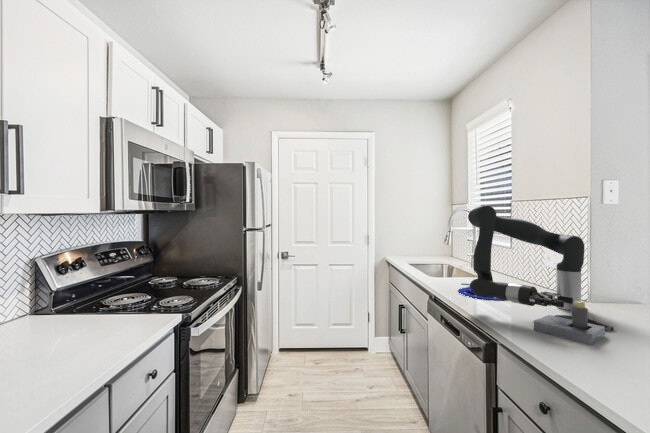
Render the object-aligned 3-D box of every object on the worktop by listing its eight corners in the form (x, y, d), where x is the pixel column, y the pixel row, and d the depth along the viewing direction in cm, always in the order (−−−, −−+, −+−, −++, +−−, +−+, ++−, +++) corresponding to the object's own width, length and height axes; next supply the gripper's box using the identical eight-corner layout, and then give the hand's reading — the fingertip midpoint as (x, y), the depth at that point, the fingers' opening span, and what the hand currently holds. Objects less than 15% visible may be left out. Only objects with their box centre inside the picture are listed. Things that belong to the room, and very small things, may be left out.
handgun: (585, 327, 128) (616, 325, 129) (552, 314, 145) (580, 312, 146) (585, 334, 128) (616, 332, 129) (553, 320, 145) (580, 318, 146)
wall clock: (533, 288, 179) (485, 292, 170) (533, 299, 179) (485, 304, 170) (489, 278, 207) (446, 281, 198) (489, 287, 207) (446, 290, 198)
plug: (574, 332, 127) (574, 300, 127) (589, 336, 124) (589, 302, 123) (569, 335, 124) (569, 301, 124) (584, 339, 121) (585, 304, 121)
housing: (548, 323, 138) (548, 314, 138) (605, 336, 123) (605, 326, 123) (533, 330, 130) (533, 320, 130) (592, 345, 116) (592, 334, 116)
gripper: (512, 287, 135) (560, 295, 122) (529, 282, 144) (575, 289, 131) (512, 306, 135) (560, 316, 122) (529, 300, 144) (575, 309, 131)
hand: (568, 302), depth 127 cm, fingers open, 8 cm apart
